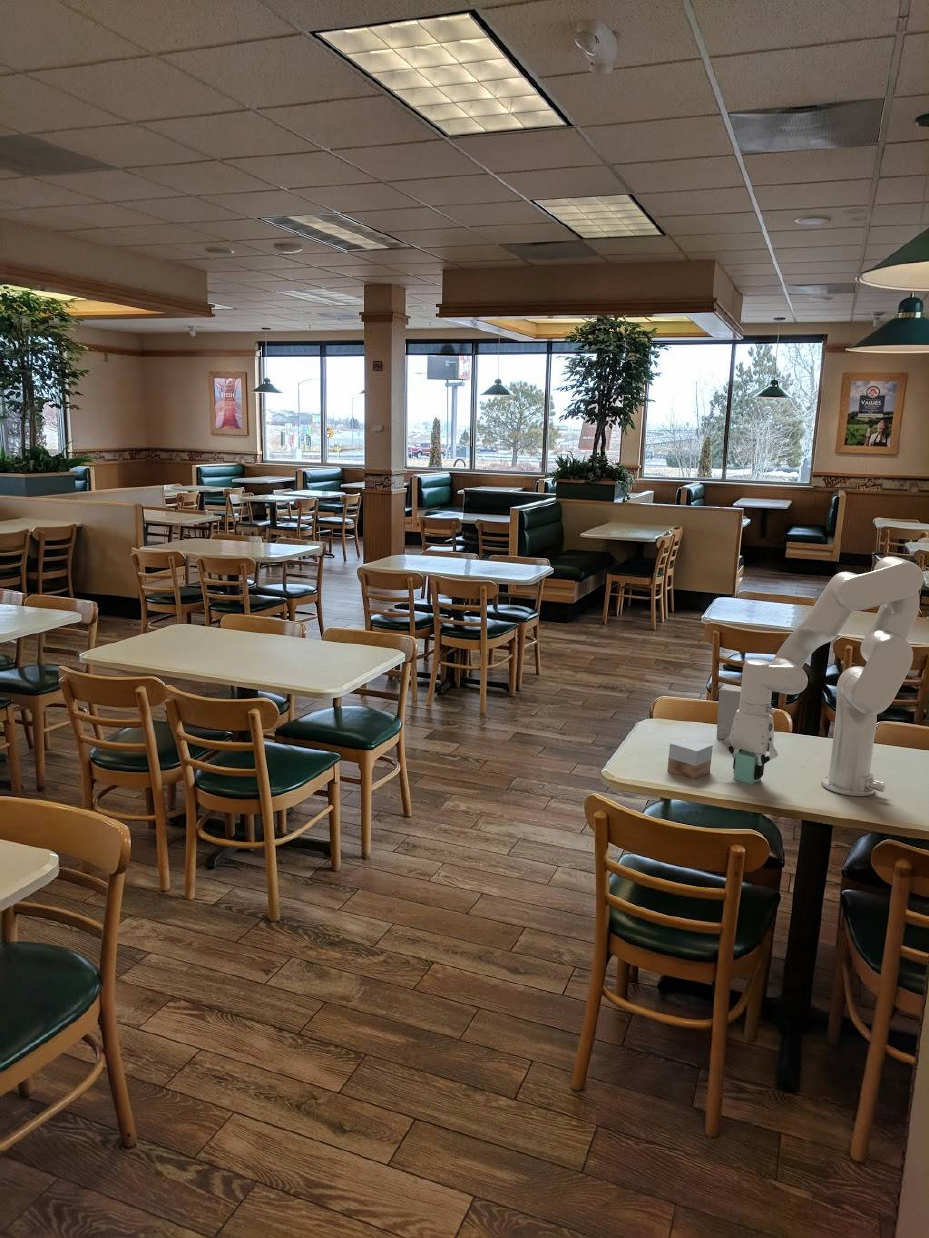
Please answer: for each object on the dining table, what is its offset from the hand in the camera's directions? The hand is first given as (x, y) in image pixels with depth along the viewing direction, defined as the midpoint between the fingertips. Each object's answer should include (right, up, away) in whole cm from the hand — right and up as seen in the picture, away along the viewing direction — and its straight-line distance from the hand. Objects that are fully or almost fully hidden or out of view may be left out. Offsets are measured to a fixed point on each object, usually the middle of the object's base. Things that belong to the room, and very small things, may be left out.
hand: (747, 774), depth 232 cm
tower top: (-14, +4, +3) cm, 15 cm away
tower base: (-14, 0, +4) cm, 15 cm away
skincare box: (+6, +5, +34) cm, 35 cm away
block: (0, -1, 0) cm, 1 cm away
